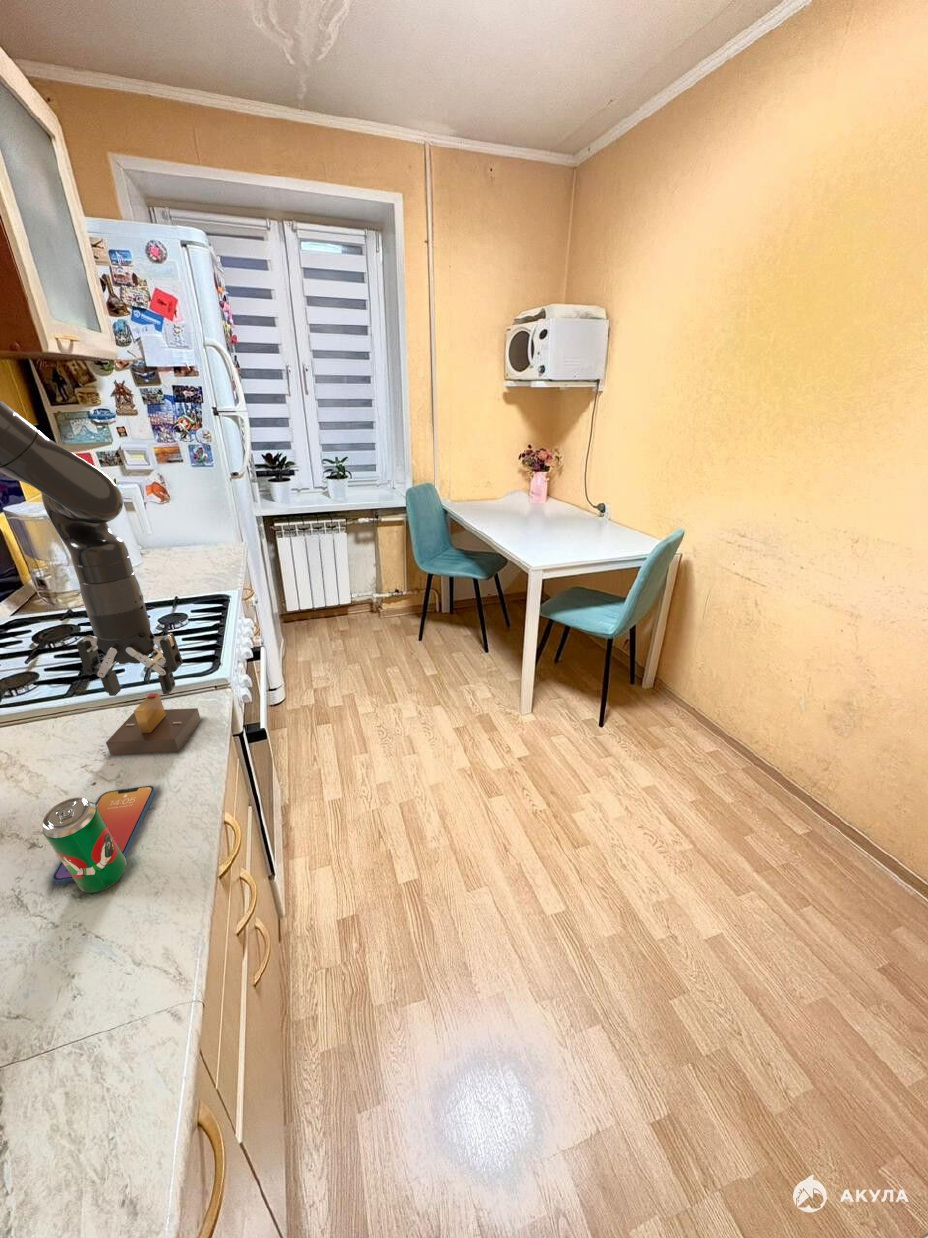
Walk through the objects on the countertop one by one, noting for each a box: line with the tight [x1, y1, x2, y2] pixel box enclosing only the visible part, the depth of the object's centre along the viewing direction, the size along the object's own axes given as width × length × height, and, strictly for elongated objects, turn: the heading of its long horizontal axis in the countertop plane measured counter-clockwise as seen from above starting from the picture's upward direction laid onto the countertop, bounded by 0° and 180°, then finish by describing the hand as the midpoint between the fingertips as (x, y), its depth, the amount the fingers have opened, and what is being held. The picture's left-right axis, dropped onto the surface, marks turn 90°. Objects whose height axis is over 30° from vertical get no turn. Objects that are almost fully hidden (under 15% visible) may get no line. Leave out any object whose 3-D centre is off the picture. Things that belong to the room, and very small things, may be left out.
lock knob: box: [133, 693, 166, 733], centre depth 85 cm, size 5×2×5 cm, turn 1°
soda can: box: [42, 796, 128, 894], centre depth 59 cm, size 5×5×12 cm
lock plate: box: [105, 707, 202, 756], centre depth 86 cm, size 11×9×3 cm
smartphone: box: [52, 785, 156, 885], centre depth 68 cm, size 7×15×1 cm, turn 12°
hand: (142, 692), depth 84 cm, fingers open, 8 cm apart
